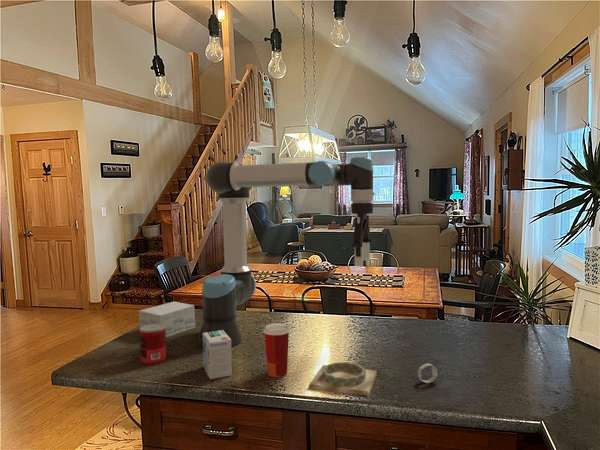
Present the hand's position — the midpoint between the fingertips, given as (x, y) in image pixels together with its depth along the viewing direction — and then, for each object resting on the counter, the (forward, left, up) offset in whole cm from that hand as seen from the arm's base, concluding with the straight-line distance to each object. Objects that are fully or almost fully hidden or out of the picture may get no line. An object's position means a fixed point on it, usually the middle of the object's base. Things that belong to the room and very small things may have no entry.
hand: (362, 263), depth 154 cm
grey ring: (+23, -28, -28) cm, 46 cm away
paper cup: (-19, -34, -28) cm, 48 cm away
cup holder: (+1, -34, -28) cm, 44 cm away
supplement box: (-76, -6, -28) cm, 82 cm away
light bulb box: (-37, -37, -28) cm, 60 cm away
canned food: (-61, -35, -28) cm, 76 cm away
